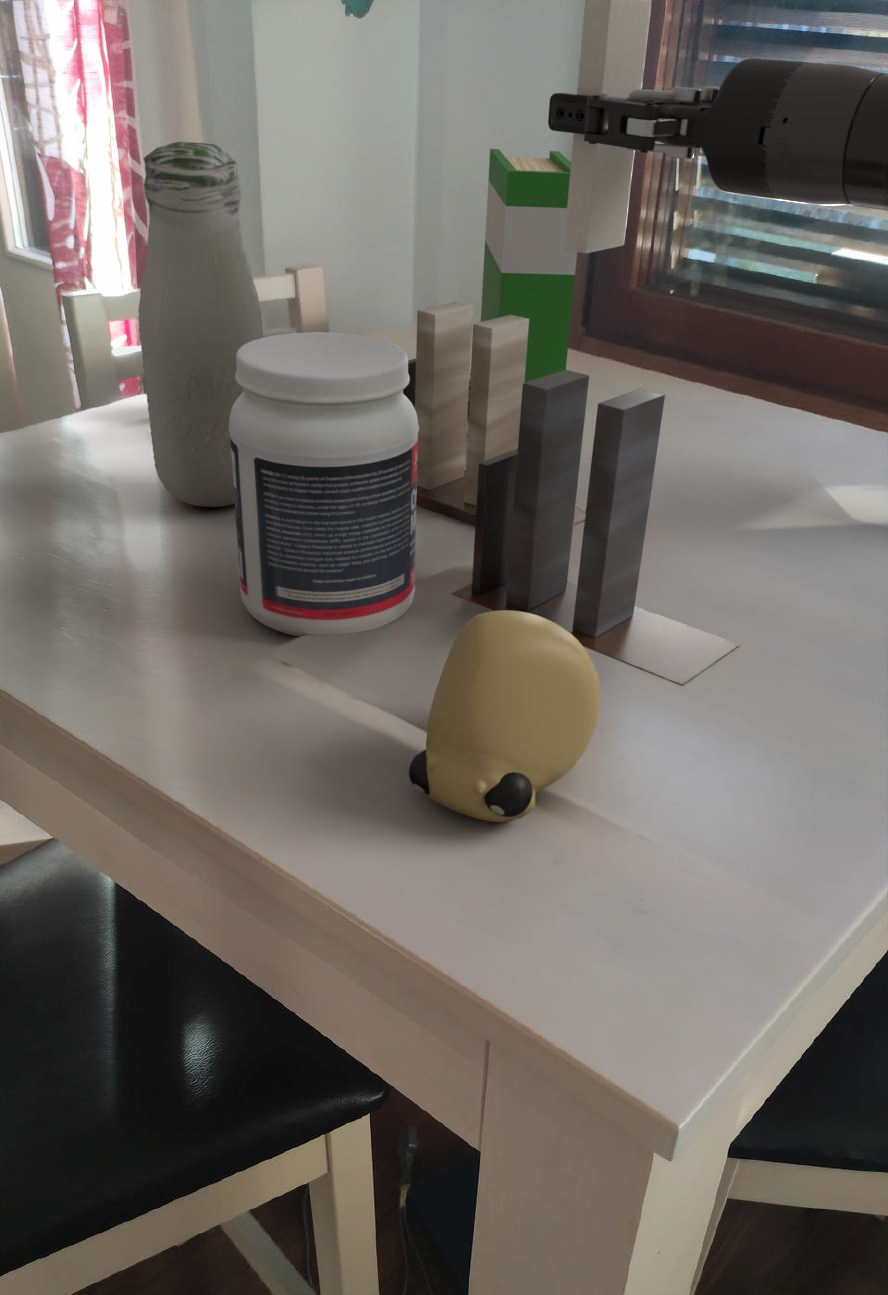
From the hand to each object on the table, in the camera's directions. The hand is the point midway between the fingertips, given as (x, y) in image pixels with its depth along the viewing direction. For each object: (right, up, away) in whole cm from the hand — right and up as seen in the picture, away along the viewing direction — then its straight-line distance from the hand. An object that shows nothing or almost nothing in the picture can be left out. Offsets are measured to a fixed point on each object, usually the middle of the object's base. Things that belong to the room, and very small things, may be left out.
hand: (576, 109), depth 81 cm
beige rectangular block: (+2, -8, +4) cm, 9 cm away
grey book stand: (+1, -36, +4) cm, 36 cm away
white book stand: (-6, -22, +24) cm, 33 cm away
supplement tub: (-18, -34, +6) cm, 39 cm away
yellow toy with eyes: (-6, -47, -12) cm, 49 cm away
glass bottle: (-30, -22, +22) cm, 43 cm away
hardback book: (-1, -3, +51) cm, 51 cm away
